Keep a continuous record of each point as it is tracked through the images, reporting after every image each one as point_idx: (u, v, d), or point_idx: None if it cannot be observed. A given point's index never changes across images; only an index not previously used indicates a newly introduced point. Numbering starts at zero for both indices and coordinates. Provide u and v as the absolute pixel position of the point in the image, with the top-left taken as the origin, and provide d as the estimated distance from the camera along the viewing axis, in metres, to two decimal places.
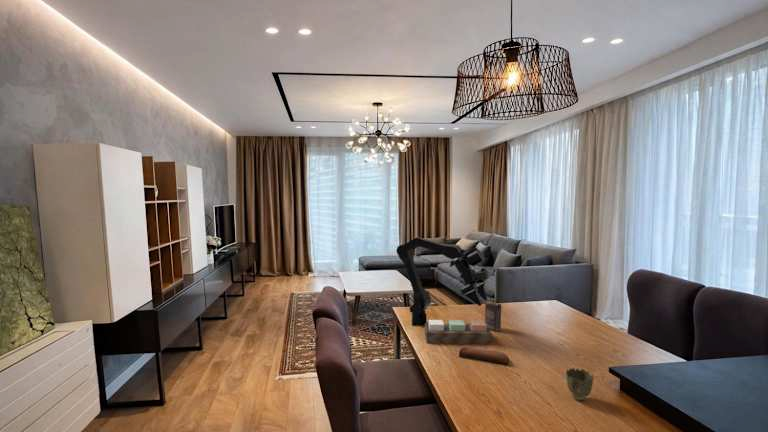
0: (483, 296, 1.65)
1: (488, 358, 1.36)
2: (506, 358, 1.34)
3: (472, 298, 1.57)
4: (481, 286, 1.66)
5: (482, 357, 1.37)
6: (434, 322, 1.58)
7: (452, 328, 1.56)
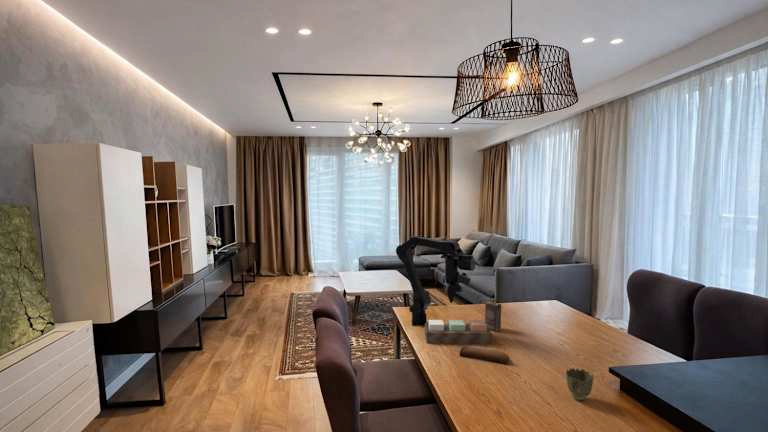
0: None
1: (488, 357, 1.37)
2: (506, 357, 1.35)
3: (449, 294, 1.65)
4: None
5: (483, 356, 1.38)
6: (434, 322, 1.58)
7: (452, 328, 1.56)
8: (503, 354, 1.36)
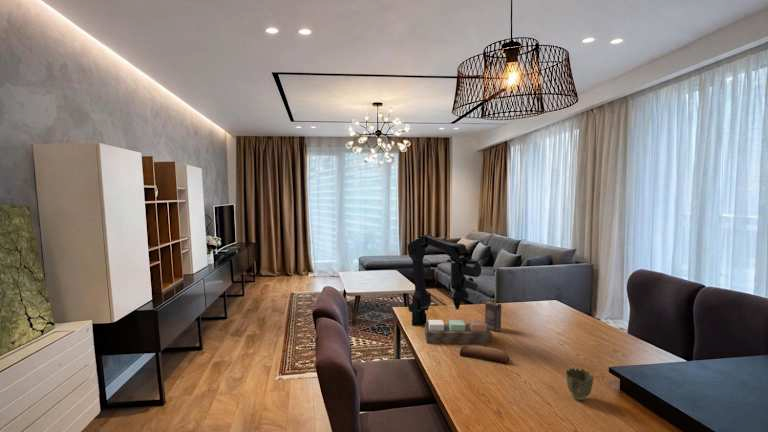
0: None
1: (488, 357, 1.37)
2: (506, 357, 1.35)
3: (455, 300, 1.57)
4: None
5: (483, 356, 1.38)
6: (434, 322, 1.58)
7: (452, 328, 1.56)
8: (503, 354, 1.36)
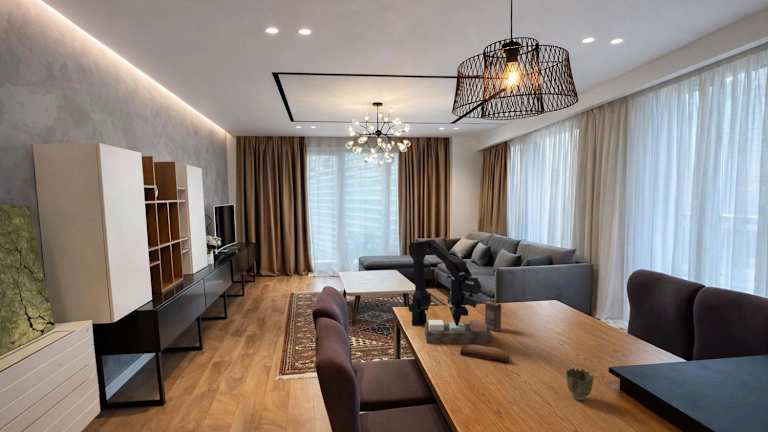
0: None
1: (489, 356, 1.38)
2: (506, 356, 1.35)
3: (455, 316, 1.57)
4: None
5: (483, 355, 1.39)
6: (434, 322, 1.58)
7: None
8: (503, 353, 1.36)
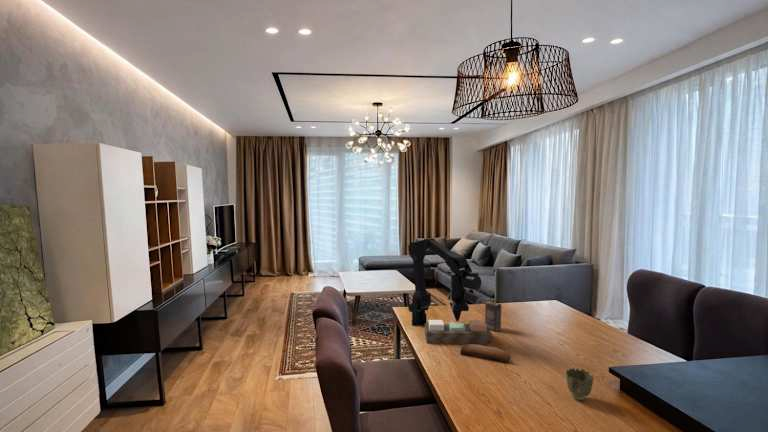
0: None
1: (489, 356, 1.38)
2: (507, 356, 1.36)
3: (455, 312, 1.57)
4: None
5: (483, 355, 1.39)
6: (434, 322, 1.58)
7: None
8: (503, 353, 1.37)
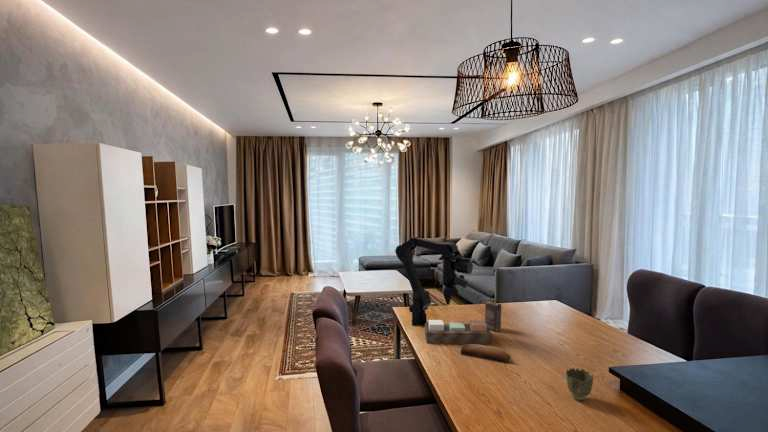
0: None
1: (489, 355, 1.38)
2: (507, 356, 1.36)
3: (446, 296, 1.65)
4: None
5: (483, 354, 1.39)
6: (434, 322, 1.58)
7: None
8: (503, 353, 1.37)
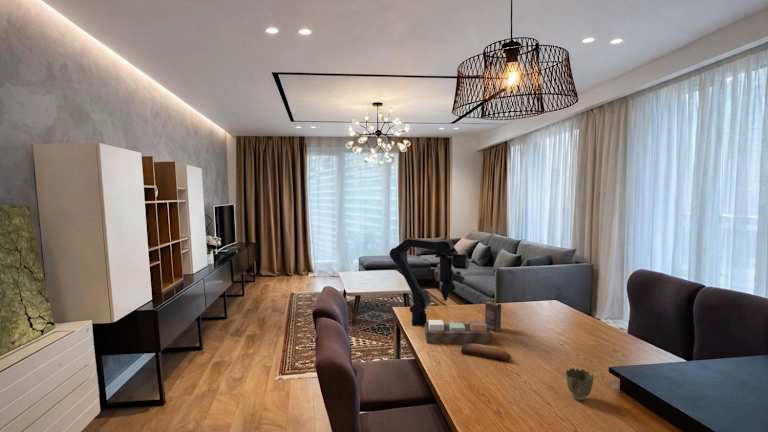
0: None
1: (489, 355, 1.39)
2: (507, 355, 1.36)
3: (443, 292, 1.68)
4: None
5: (483, 354, 1.40)
6: (434, 322, 1.58)
7: None
8: (504, 352, 1.37)
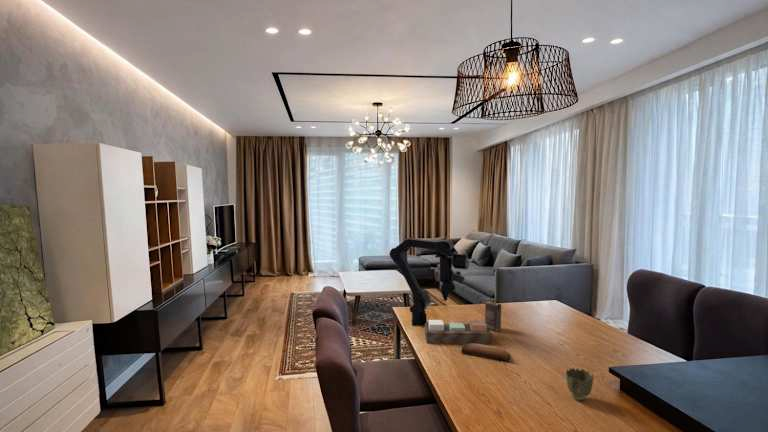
0: None
1: (489, 355, 1.39)
2: (507, 355, 1.37)
3: (443, 292, 1.68)
4: None
5: (484, 354, 1.40)
6: (434, 322, 1.58)
7: None
8: (504, 352, 1.38)
